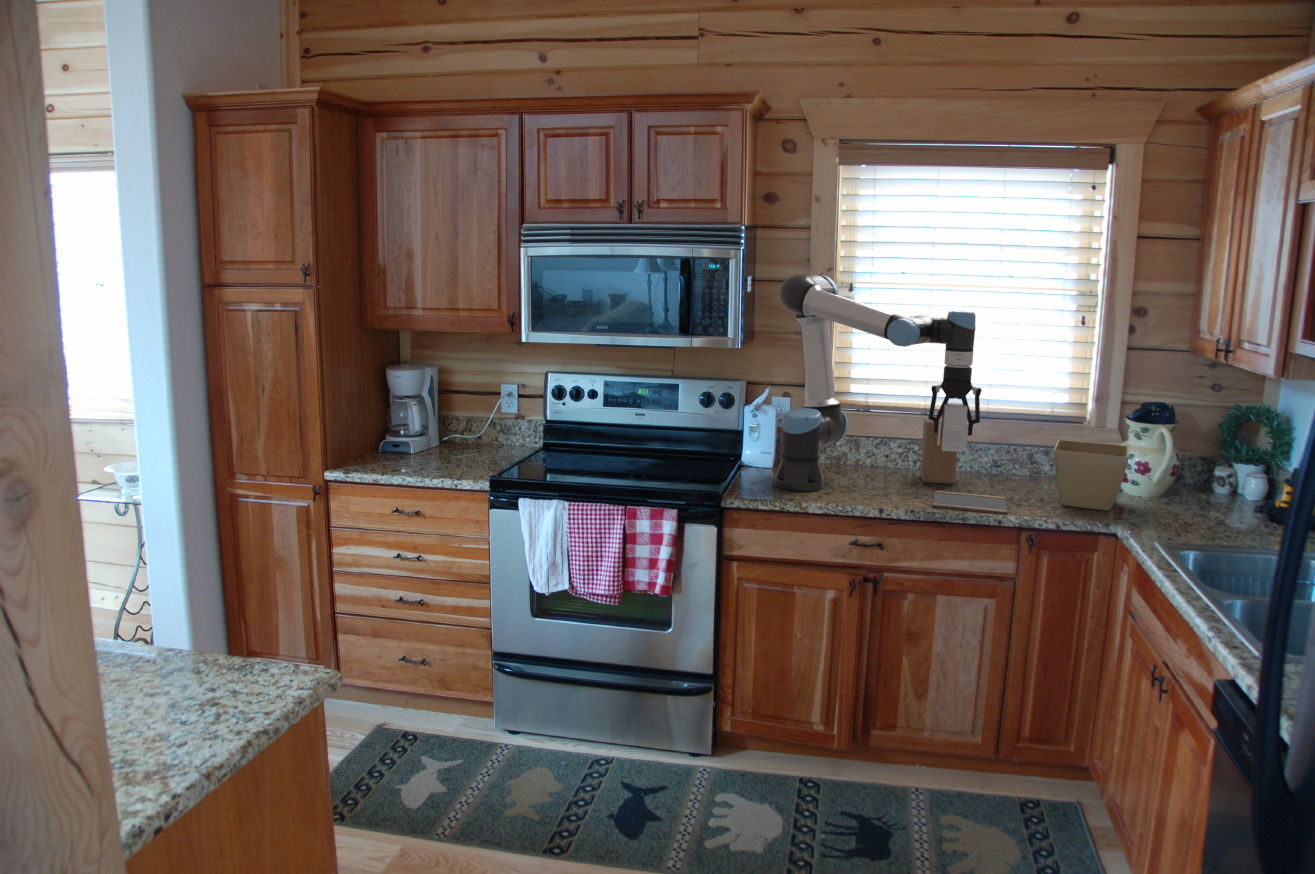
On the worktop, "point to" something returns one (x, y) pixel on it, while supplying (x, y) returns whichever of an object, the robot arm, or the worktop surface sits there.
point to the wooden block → (936, 458)
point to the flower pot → (1089, 473)
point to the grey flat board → (970, 502)
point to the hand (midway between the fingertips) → (951, 445)
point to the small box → (953, 427)
